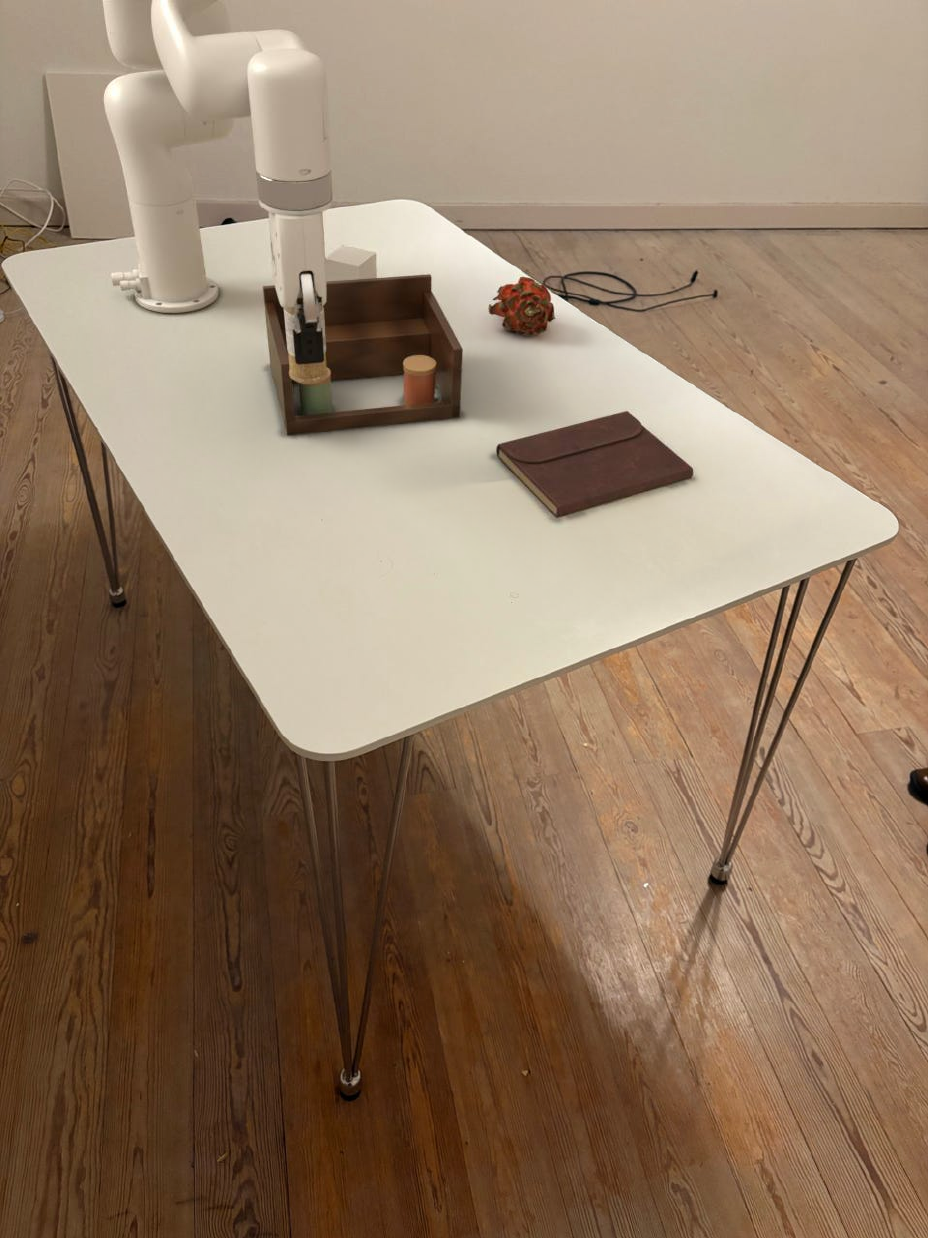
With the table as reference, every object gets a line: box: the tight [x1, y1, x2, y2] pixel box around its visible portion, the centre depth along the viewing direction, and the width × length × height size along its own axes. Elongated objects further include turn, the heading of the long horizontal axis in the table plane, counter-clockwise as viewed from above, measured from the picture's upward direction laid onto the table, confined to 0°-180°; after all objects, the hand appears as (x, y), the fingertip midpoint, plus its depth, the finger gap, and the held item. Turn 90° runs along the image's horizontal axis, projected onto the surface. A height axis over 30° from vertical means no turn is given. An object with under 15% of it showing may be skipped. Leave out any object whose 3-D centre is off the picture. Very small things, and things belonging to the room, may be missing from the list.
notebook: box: [495, 410, 694, 519], centre depth 127 cm, size 15×20×2 cm
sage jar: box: [297, 367, 333, 416], centre depth 133 cm, size 4×4×6 cm
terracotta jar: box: [403, 355, 436, 405], centre depth 136 cm, size 4×4×6 cm
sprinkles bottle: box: [284, 278, 328, 384], centre depth 114 cm, size 5×5×13 cm
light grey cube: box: [325, 244, 378, 282], centre depth 160 cm, size 6×6×6 cm
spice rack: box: [262, 273, 464, 436], centre depth 135 cm, size 23×18×12 cm
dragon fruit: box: [487, 276, 556, 337], centre depth 153 cm, size 8×8×12 cm
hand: (306, 349), depth 116 cm, fingers closed on sprinkles bottle, 4 cm apart
